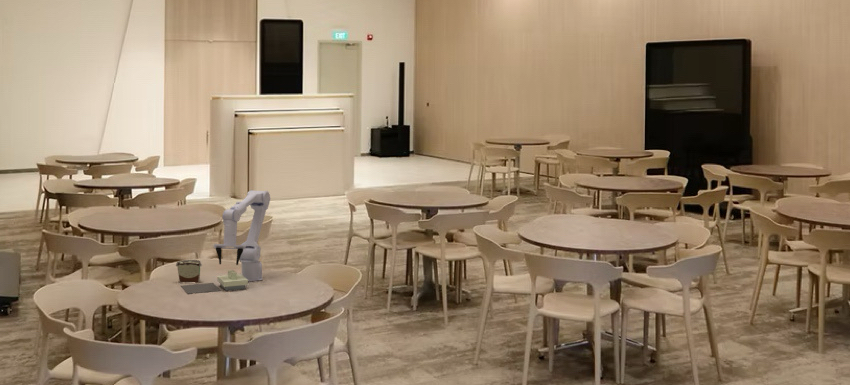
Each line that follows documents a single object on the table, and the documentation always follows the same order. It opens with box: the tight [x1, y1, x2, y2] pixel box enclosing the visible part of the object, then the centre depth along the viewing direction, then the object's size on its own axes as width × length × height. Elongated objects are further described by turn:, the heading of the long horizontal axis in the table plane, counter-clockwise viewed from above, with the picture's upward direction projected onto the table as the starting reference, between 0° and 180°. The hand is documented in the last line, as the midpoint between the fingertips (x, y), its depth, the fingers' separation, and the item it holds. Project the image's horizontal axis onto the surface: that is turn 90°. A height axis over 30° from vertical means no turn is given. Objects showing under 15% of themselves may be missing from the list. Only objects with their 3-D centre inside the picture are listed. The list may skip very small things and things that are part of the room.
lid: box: [216, 269, 249, 287], centre depth 432 cm, size 11×15×5 cm
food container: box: [175, 259, 203, 284], centre depth 446 cm, size 12×6×10 cm, turn 84°
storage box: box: [220, 283, 246, 292], centre depth 432 cm, size 9×13×4 cm
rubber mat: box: [180, 282, 222, 295], centre depth 430 cm, size 15×18×1 cm
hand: (228, 264), depth 431 cm, fingers open, 7 cm apart
